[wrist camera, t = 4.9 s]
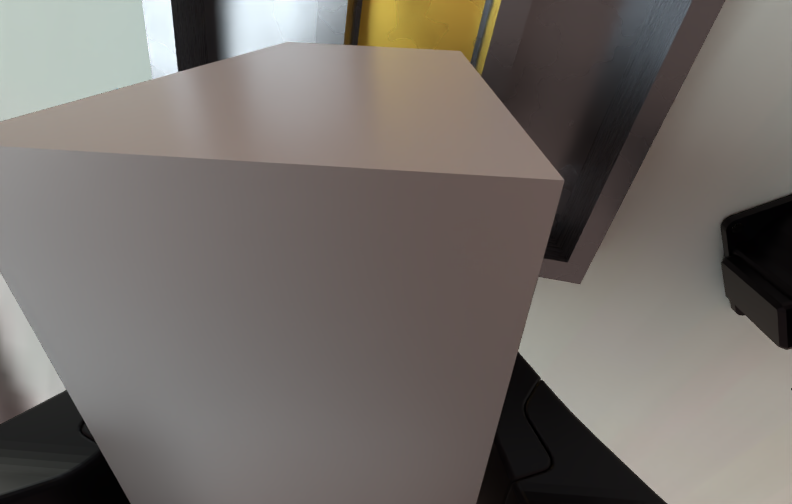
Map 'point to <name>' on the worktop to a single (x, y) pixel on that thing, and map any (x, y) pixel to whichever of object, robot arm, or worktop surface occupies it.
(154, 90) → the tall white block
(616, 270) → the worktop surface
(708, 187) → the worktop surface
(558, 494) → the robot arm
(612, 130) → the grey divided tray
